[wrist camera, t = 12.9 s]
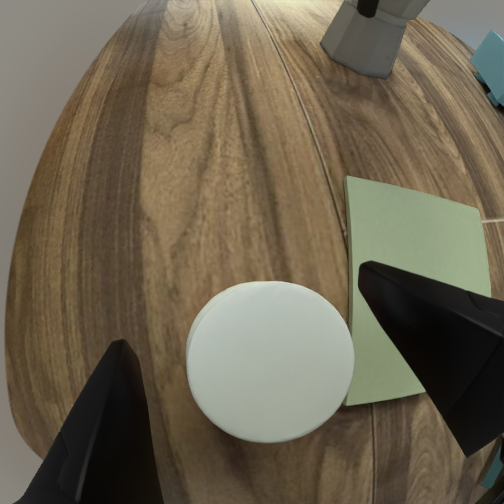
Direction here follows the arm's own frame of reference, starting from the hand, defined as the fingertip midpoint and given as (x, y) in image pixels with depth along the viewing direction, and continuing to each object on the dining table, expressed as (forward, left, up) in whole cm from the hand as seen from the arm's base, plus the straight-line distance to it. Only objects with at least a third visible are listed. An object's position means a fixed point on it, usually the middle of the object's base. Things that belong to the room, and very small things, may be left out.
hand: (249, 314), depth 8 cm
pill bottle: (-1, -1, -7) cm, 7 cm away
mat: (+6, -12, -7) cm, 15 cm away
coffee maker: (+28, -2, -7) cm, 29 cm away
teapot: (+48, -32, -7) cm, 58 cm away
